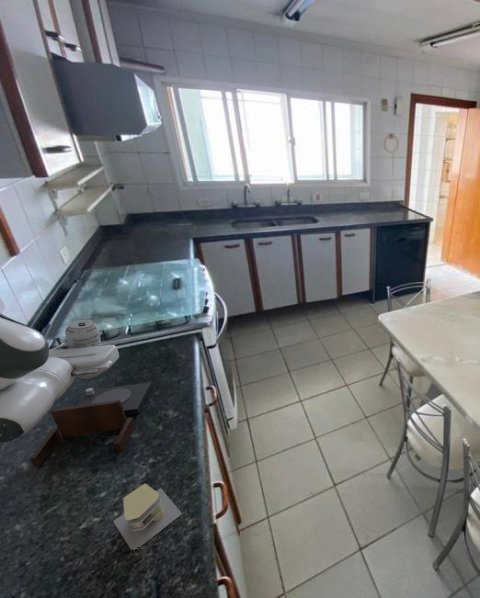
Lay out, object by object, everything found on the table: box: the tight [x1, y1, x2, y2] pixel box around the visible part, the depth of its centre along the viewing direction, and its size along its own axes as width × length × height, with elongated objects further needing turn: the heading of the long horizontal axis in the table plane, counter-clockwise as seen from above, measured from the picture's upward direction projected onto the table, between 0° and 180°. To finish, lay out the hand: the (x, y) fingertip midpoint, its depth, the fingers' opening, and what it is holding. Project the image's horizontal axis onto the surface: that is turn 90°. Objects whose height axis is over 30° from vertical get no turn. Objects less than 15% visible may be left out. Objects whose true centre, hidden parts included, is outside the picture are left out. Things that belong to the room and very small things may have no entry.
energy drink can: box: [64, 318, 102, 380], centre depth 83 cm, size 6×6×15 cm
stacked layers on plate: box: [112, 483, 183, 551], centre depth 68 cm, size 10×9×6 cm
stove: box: [75, 381, 153, 417], centre depth 96 cm, size 16×12×4 cm
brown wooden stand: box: [29, 400, 136, 468], centre depth 82 cm, size 17×10×9 cm, turn 109°
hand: (79, 344), depth 83 cm, fingers closed on energy drink can, 3 cm apart
